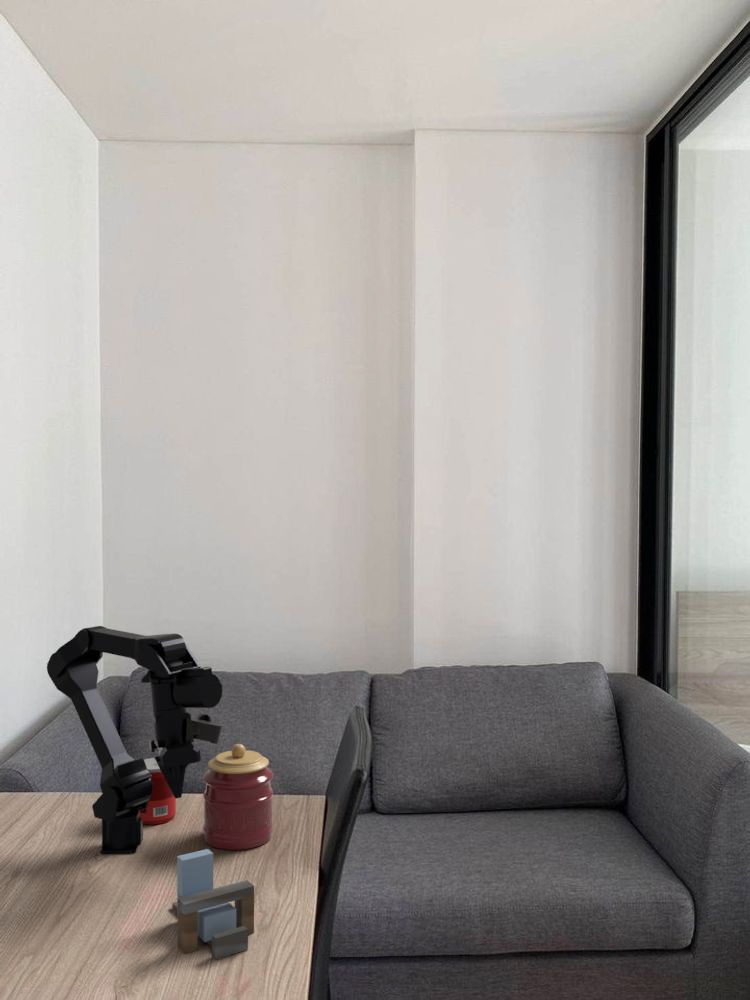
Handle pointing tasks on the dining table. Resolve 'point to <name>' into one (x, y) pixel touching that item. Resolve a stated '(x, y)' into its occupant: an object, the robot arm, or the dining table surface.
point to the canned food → (158, 797)
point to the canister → (238, 800)
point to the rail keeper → (191, 904)
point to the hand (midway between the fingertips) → (178, 797)
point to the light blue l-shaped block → (199, 878)
